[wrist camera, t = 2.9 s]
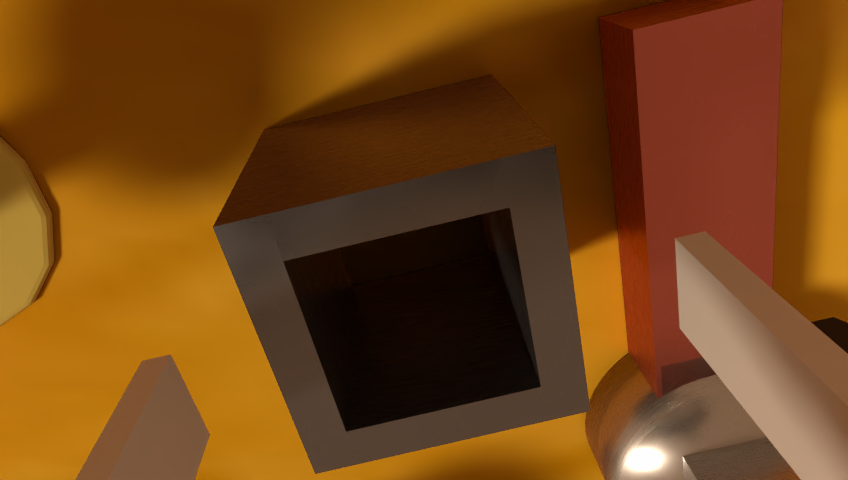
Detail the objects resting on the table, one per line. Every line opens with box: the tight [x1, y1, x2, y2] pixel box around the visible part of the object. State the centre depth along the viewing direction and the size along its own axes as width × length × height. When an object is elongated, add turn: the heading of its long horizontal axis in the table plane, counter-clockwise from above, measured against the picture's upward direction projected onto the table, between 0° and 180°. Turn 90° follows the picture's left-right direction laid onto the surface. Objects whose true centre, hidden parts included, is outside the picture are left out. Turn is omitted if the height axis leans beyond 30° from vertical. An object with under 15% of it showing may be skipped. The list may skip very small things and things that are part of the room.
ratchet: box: [585, 0, 801, 480], centre depth 22 cm, size 22×9×8 cm, turn 12°
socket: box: [213, 74, 590, 474], centre depth 20 cm, size 8×8×8 cm
